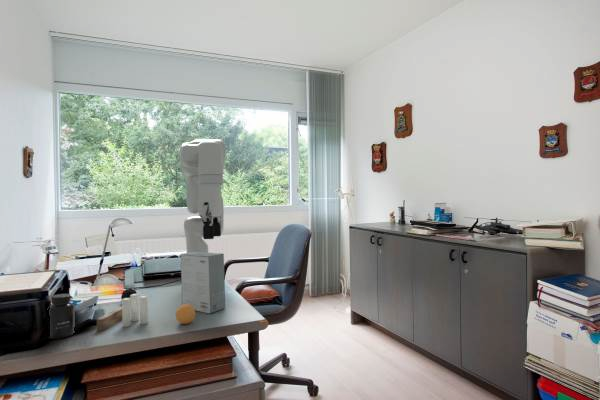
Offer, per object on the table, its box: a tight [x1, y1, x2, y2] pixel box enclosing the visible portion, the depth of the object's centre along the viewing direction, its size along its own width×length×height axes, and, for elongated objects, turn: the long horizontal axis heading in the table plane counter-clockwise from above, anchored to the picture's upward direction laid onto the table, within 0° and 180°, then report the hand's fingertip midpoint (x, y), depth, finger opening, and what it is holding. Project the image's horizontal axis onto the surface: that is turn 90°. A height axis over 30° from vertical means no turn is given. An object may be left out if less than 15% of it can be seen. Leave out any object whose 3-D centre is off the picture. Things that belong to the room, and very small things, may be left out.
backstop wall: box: [96, 305, 122, 332], centre depth 121 cm, size 14×2×4 cm, turn 175°
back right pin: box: [130, 293, 140, 322], centre depth 123 cm, size 2×2×8 cm
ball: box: [175, 304, 196, 325], centre depth 119 cm, size 6×6×6 cm
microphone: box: [120, 288, 138, 300], centre depth 151 cm, size 6×6×20 cm
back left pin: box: [121, 298, 132, 328], centre depth 118 cm, size 2×2×8 cm
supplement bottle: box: [49, 293, 75, 340], centre depth 111 cm, size 7×7×12 cm
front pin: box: [138, 295, 149, 325], centre depth 121 cm, size 2×2×8 cm
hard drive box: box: [180, 251, 226, 314], centre depth 135 cm, size 16×8×20 cm, turn 56°
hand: (212, 237), depth 118 cm, fingers open, 6 cm apart
